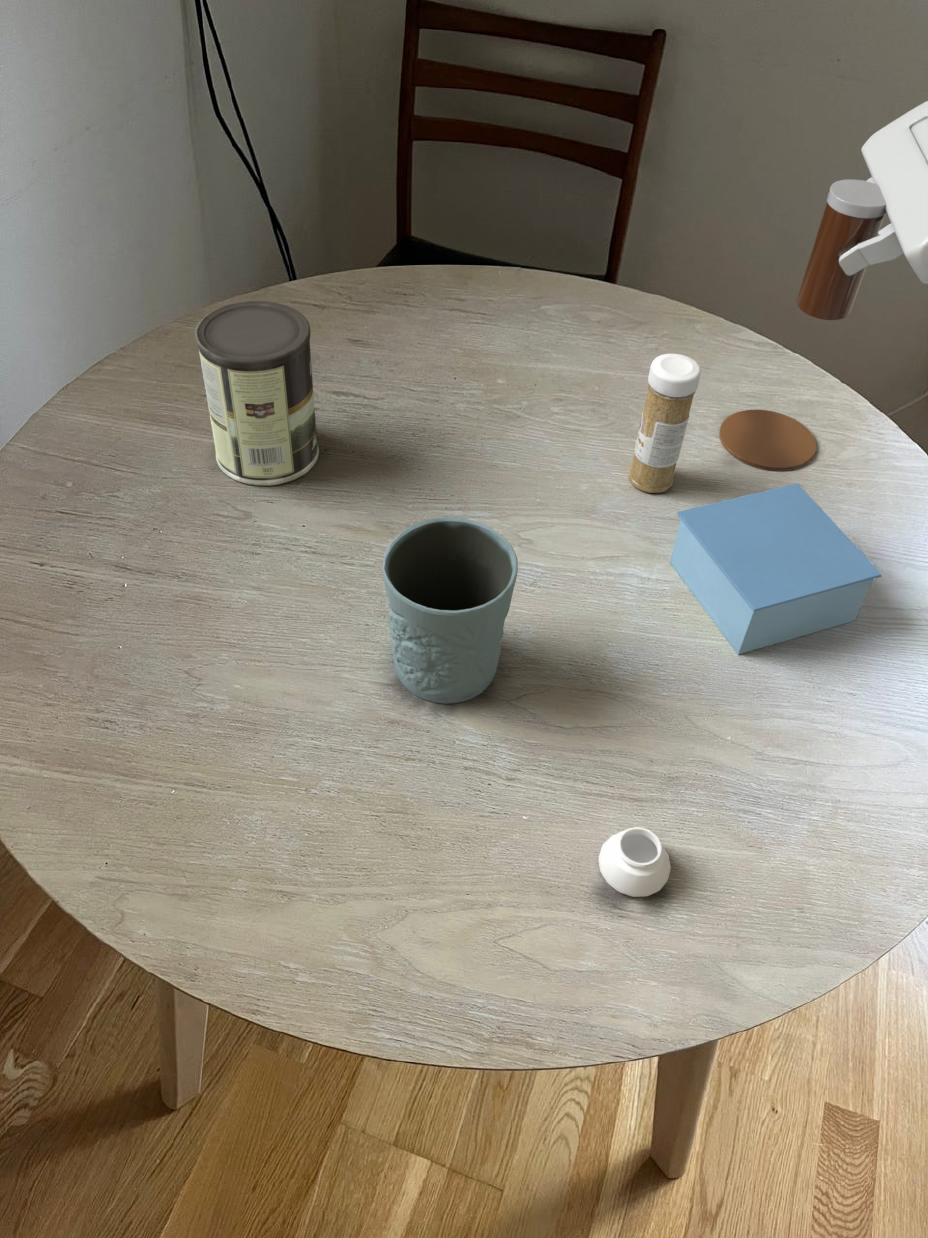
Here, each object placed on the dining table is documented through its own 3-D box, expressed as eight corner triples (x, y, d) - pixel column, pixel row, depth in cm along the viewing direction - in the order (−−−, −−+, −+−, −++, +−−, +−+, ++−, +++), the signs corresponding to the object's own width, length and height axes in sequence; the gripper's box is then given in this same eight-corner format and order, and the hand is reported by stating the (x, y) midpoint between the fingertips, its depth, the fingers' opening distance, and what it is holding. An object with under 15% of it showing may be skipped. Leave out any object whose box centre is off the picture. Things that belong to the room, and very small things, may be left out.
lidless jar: (593, 837, 76) (603, 900, 72) (599, 815, 73) (609, 879, 70) (661, 836, 76) (674, 898, 73) (668, 814, 74) (682, 877, 70)
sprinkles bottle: (626, 465, 105) (649, 349, 96) (671, 467, 106) (698, 352, 96) (629, 494, 102) (653, 378, 93) (675, 497, 102) (704, 381, 93)
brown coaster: (780, 405, 114) (781, 402, 114) (834, 459, 108) (835, 456, 107) (701, 422, 111) (702, 419, 111) (751, 479, 105) (752, 475, 105)
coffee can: (288, 411, 109) (276, 288, 99) (337, 464, 103) (331, 340, 93) (197, 443, 105) (175, 318, 94) (243, 500, 99) (225, 373, 89)
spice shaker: (830, 288, 92) (867, 175, 84) (863, 315, 89) (904, 201, 81) (784, 296, 90) (818, 182, 83) (816, 325, 87) (854, 209, 80)
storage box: (779, 531, 100) (797, 482, 95) (859, 622, 92) (882, 574, 87) (664, 560, 96) (677, 511, 92) (736, 658, 88) (754, 609, 84)
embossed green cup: (490, 614, 90) (500, 510, 82) (519, 705, 84) (533, 601, 75) (375, 629, 89) (372, 524, 80) (395, 723, 82) (394, 619, 73)
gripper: (954, 52, 84) (799, 164, 91) (1027, 160, 70) (836, 282, 77) (987, 114, 87) (834, 217, 94) (1063, 229, 73) (876, 340, 80)
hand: (835, 247), depth 86 cm, fingers closed on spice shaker, 4 cm apart
